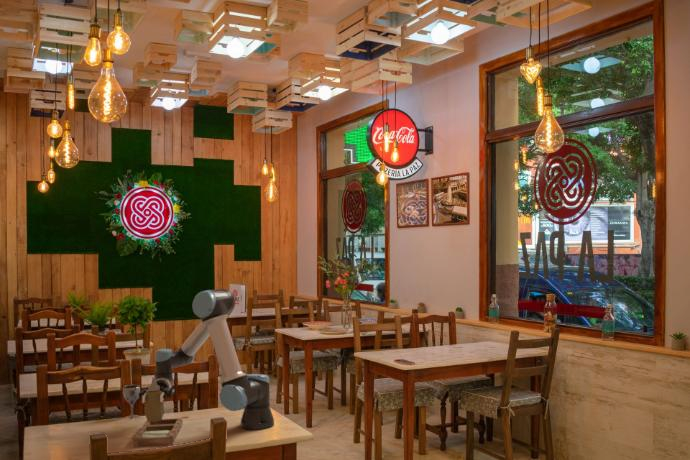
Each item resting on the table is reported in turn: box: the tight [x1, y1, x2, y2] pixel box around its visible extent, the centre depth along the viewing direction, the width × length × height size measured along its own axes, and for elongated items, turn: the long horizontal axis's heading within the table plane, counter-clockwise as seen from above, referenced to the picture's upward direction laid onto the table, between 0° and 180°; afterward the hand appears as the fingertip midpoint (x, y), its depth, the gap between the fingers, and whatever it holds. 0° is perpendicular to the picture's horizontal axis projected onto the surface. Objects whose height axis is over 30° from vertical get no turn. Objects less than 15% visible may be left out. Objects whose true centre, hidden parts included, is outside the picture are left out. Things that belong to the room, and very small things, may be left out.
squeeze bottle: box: [144, 376, 165, 422], centre depth 275 cm, size 8×8×18 cm
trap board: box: [132, 417, 183, 448], centre depth 285 cm, size 32×16×3 cm, turn 7°
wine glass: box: [122, 384, 141, 420], centre depth 319 cm, size 8×8×15 cm
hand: (152, 399), depth 270 cm, fingers closed on squeeze bottle, 6 cm apart
